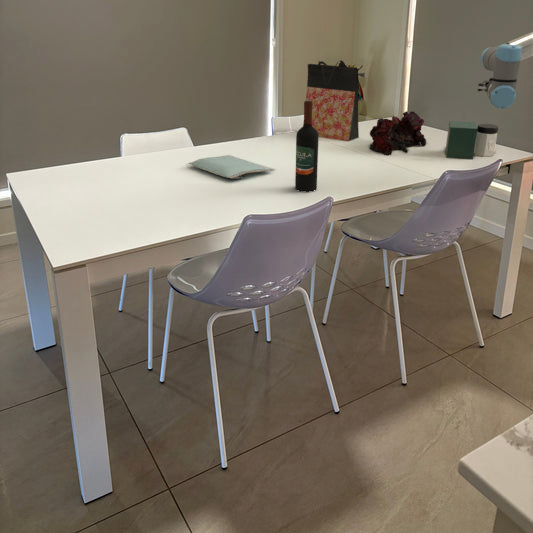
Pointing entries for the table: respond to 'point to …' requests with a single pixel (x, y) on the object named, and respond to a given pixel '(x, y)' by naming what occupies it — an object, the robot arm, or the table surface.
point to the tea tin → (460, 143)
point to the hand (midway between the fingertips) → (492, 81)
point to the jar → (485, 140)
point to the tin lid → (462, 125)
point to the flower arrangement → (397, 134)
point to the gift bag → (334, 100)
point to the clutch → (228, 166)
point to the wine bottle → (306, 153)
